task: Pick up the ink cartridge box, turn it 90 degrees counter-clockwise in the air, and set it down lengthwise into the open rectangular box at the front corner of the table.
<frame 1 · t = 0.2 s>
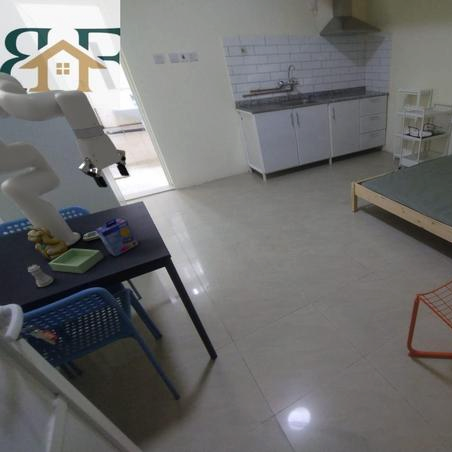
hand: (115, 181, 100), 31 cm above the table, tool pointing down, fingers open, 9 cm apart
ink cartridge box: (125, 249, 118), on the table
rook chess piece: (46, 283, 102), on the table
decorative figurine: (59, 255, 117), on the table
open rectangular box: (79, 263, 111), on the table
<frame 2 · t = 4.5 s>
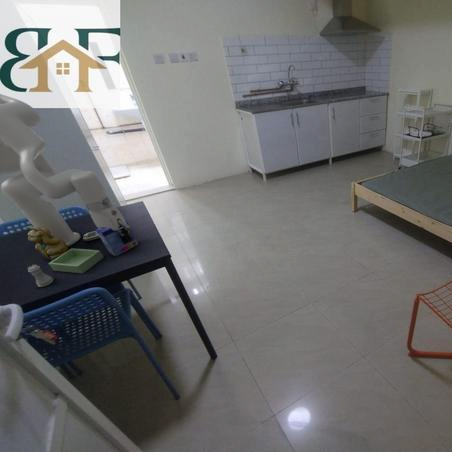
hand: (120, 241, 116), 4 cm above the table, tool pointing down, fingers closed on ink cartridge box, 6 cm apart
ink cartridge box: (125, 249, 118), on the table, touching gripper
everything else where it was.
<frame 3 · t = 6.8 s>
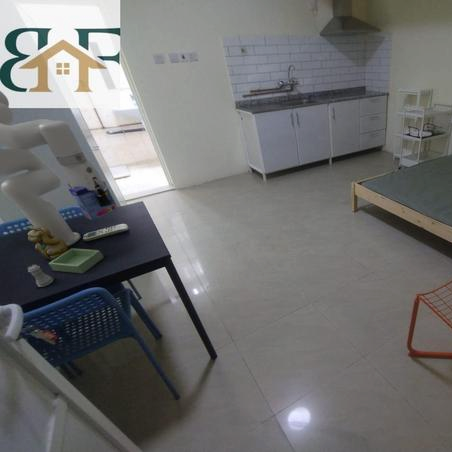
hand: (97, 203, 106), 22 cm above the table, tool pointing down, fingers closed on ink cartridge box, 6 cm apart
ink cartridge box: (103, 213, 109), point 17 cm above the table, touching gripper
everything else where it was.
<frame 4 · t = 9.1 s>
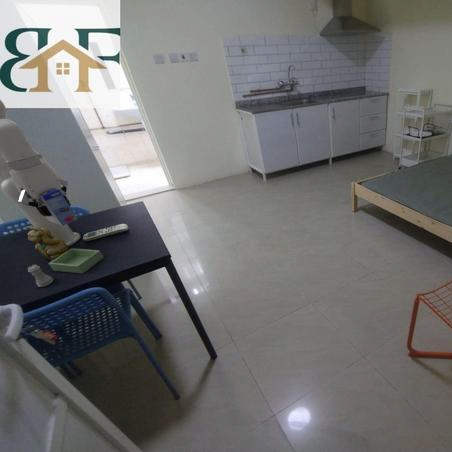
hand: (57, 210, 100), 23 cm above the table, tool pointing down, fingers closed on ink cartridge box, 6 cm apart
ink cartridge box: (64, 220, 103), point 19 cm above the table, touching gripper
everything else where it was.
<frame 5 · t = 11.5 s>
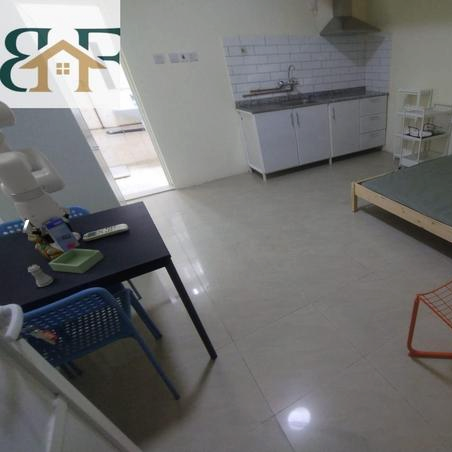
hand: (60, 237, 104), 13 cm above the table, tool pointing down, fingers closed on ink cartridge box, 6 cm apart
ink cartridge box: (67, 246, 106), point 9 cm above the table, touching gripper
everything else where it was.
when the fingers open (5 cm above the table, at t = 13.8 s): ink cartridge box stays where it is, resting on open rectangular box.
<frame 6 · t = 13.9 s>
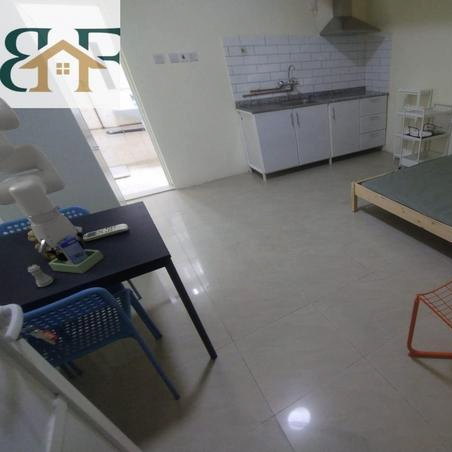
hand: (72, 254, 108), 5 cm above the table, tool pointing down, fingers open, 6 cm apart
ink cartridge box: (79, 262, 111), resting on open rectangular box
everything else where it was.
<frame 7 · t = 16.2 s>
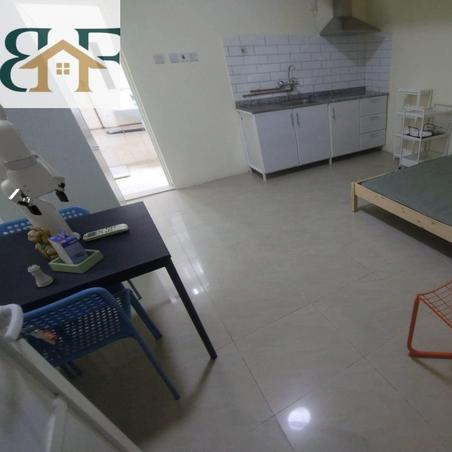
hand: (52, 208, 101), 23 cm above the table, tool pointing down, fingers open, 9 cm apart
nothing on the table moved.
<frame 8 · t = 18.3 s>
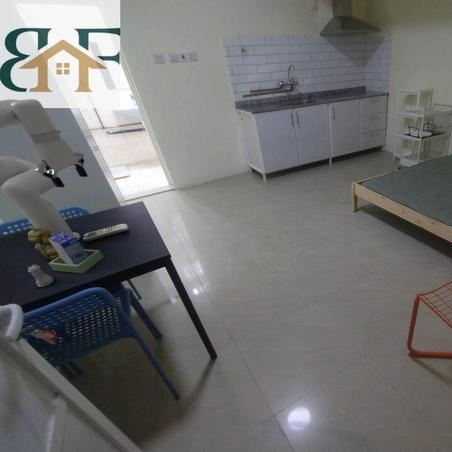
hand: (73, 181, 109), 28 cm above the table, tool pointing down, fingers open, 9 cm apart
nothing on the table moved.
at the end: ink cartridge box 0.2 cm off-centre in the open rectangular box, point 0.4 cm above the open rectangular box's base; ink cartridge box tilted 0° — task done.
